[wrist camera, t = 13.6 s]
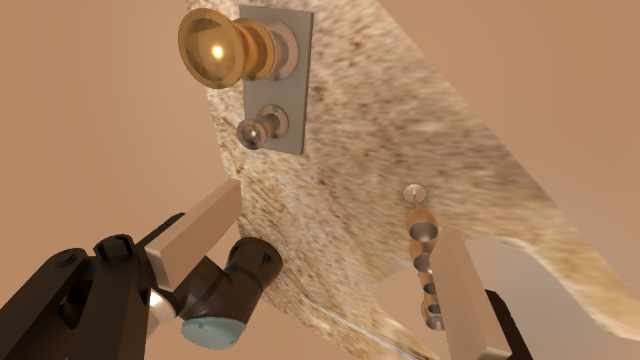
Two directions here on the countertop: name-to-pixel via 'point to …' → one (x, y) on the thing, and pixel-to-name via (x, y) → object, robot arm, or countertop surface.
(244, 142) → the narrow pipe stub
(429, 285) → the goblet set
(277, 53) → the wide pipe stub
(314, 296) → the countertop surface
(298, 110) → the plate
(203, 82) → the gold flared knob
